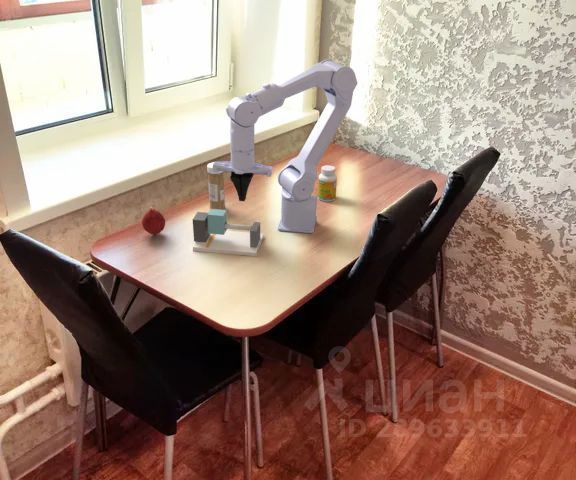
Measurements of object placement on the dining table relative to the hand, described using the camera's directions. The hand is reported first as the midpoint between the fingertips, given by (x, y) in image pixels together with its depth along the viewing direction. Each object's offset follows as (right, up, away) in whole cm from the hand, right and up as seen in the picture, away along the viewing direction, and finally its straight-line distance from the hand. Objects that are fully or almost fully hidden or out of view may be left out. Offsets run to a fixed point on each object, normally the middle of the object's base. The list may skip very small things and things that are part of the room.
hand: (242, 199), depth 145 cm
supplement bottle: (+23, +2, +26) cm, 35 cm away
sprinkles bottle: (-9, -1, +19) cm, 21 cm away
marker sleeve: (-6, -8, 0) cm, 10 cm away
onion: (-23, -9, +5) cm, 25 cm away
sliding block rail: (-4, -11, +1) cm, 12 cm away
